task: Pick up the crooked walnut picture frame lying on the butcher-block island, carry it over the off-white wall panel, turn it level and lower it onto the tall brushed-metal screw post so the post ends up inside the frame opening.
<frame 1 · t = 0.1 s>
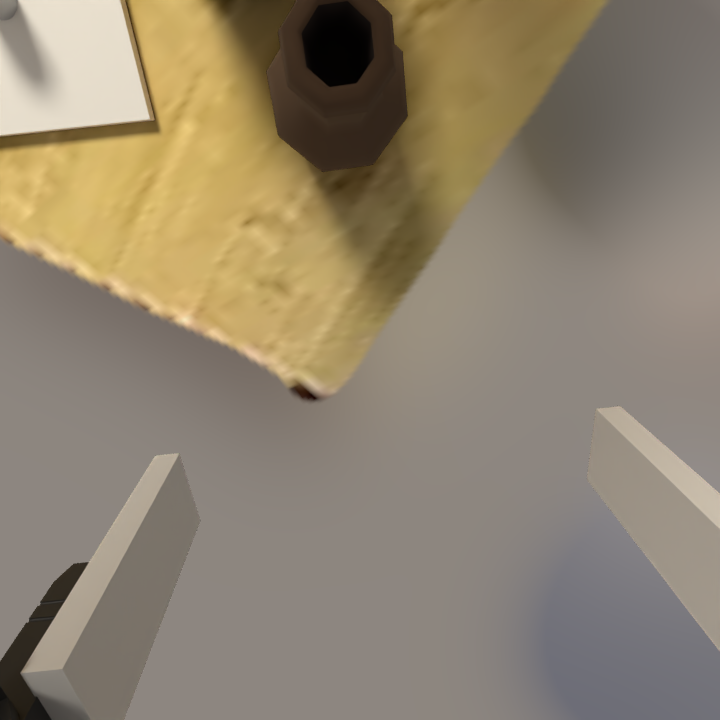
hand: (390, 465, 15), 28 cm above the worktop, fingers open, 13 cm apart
beer bottle: (338, 115, 35), on the worktop
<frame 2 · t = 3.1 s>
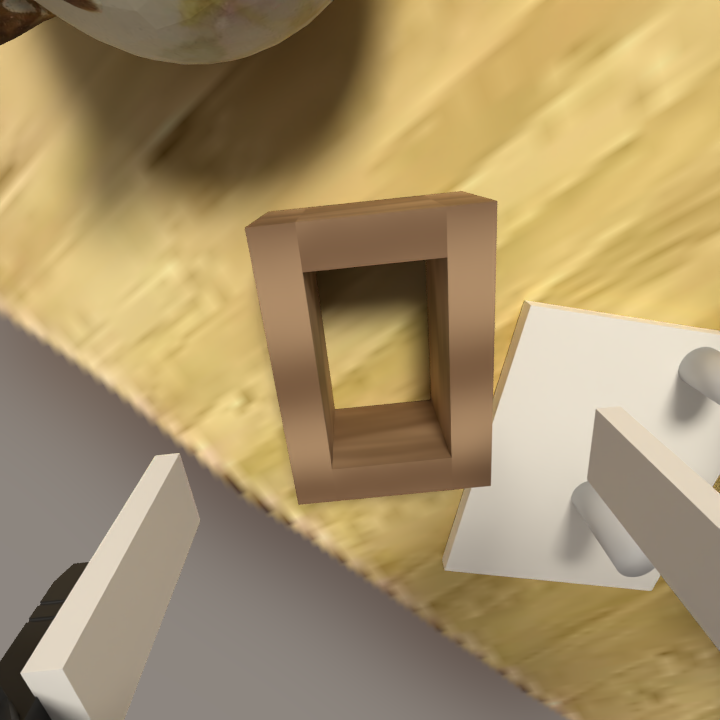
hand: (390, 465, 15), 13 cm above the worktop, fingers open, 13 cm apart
frame: (376, 329, 26), on the worktop
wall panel: (593, 461, 31), on the worktop
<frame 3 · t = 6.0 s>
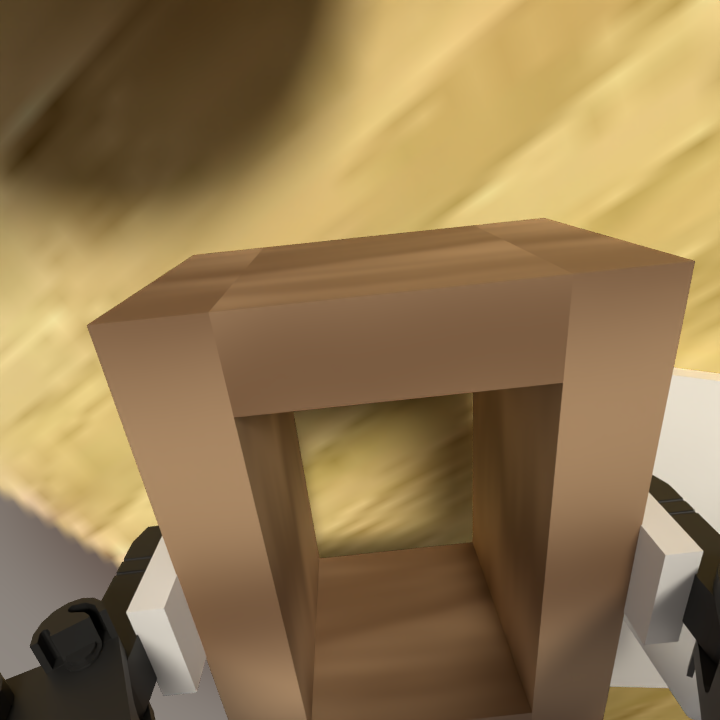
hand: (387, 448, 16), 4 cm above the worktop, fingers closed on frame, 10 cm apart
frame: (386, 442, 16), point 4 cm above the worktop, touching gripper
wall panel: (633, 544, 24), on the worktop
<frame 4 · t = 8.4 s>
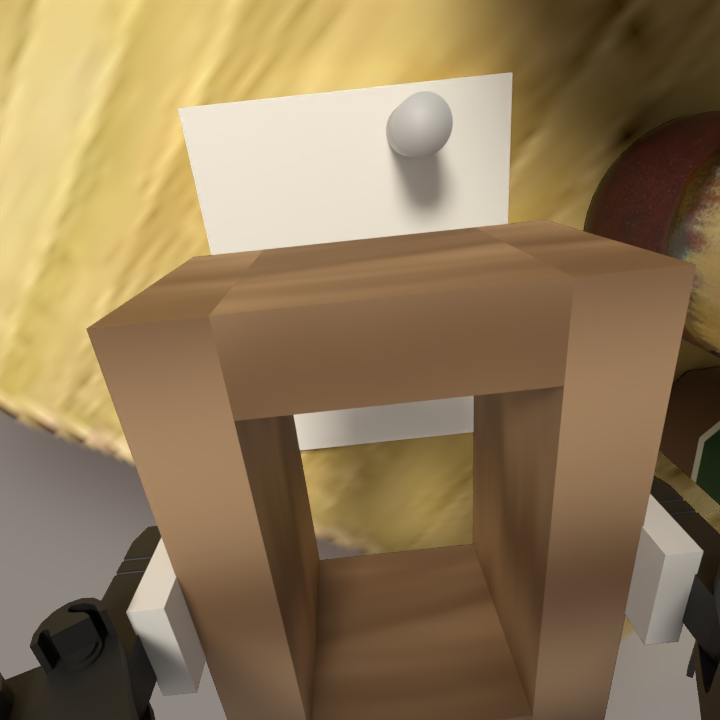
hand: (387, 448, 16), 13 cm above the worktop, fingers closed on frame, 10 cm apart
frame: (386, 444, 16), point 13 cm above the worktop, touching gripper
vase: (674, 220, 26), on the worktop
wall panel: (363, 289, 27), on the worktop
beer bottle: (698, 410, 31), on the worktop
when the fingers open (2 cm above the worktop, at t = 11.1 s): frame drops 1 cm, resting on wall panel.
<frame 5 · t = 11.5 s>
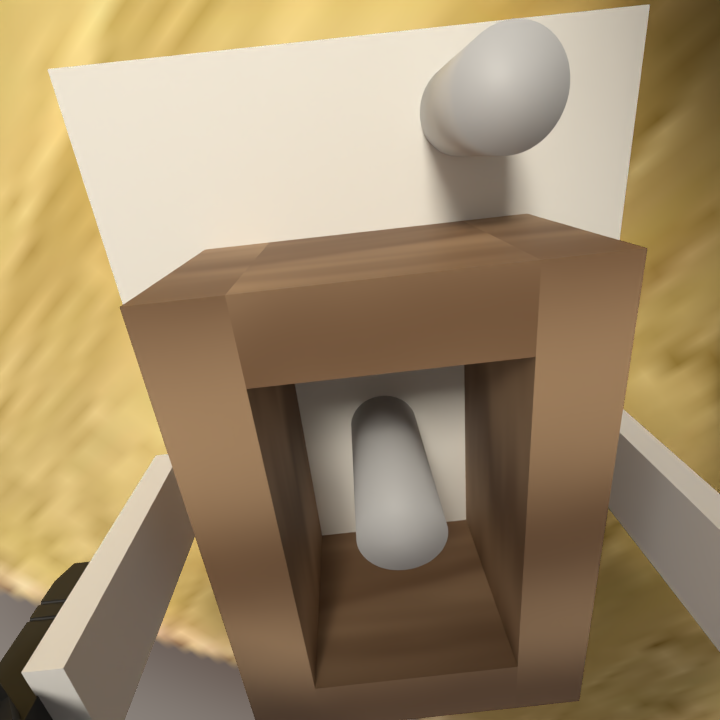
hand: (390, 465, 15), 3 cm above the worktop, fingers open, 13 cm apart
frame: (384, 424, 17), point 1 cm above the worktop, touching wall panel
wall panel: (377, 364, 17), on the worktop
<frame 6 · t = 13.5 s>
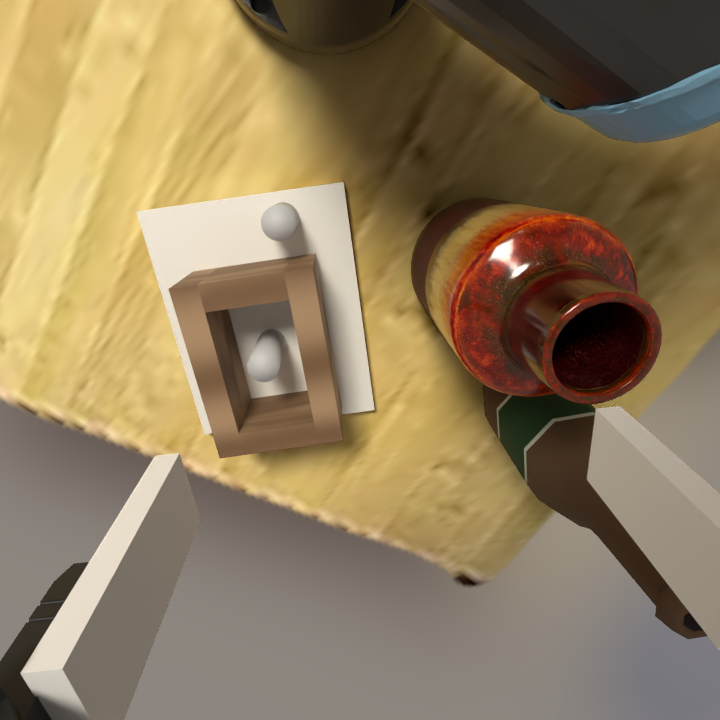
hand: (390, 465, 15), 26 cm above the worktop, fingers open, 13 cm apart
frame: (272, 342, 40), point 1 cm above the worktop, touching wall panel
vase: (472, 264, 39), on the worktop
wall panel: (268, 317, 40), on the worktop
beer bottle: (518, 392, 44), on the worktop
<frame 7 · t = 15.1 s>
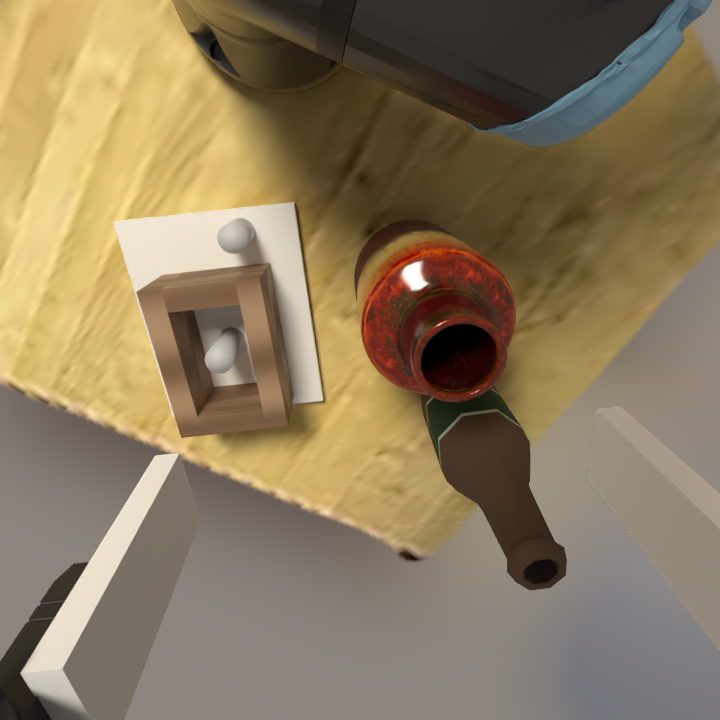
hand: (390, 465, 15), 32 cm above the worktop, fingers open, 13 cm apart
frame: (232, 338, 45), point 1 cm above the worktop, touching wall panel
vase: (409, 276, 45), on the worktop
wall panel: (229, 316, 45), on the worktop
beer bottle: (452, 389, 50), on the worktop
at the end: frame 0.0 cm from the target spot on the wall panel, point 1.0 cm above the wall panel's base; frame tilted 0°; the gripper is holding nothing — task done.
